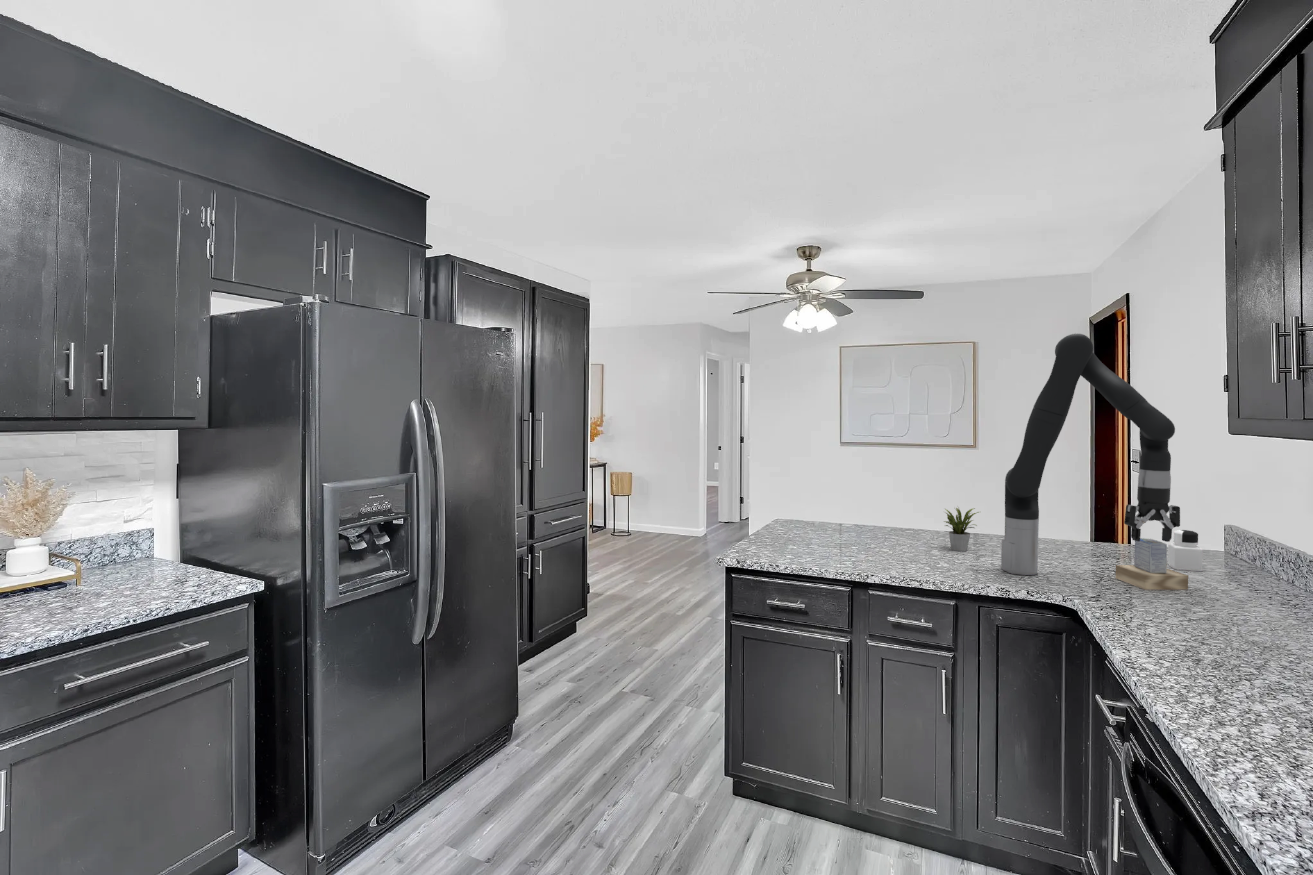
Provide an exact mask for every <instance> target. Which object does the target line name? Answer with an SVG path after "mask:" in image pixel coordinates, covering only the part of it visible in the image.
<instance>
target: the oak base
mask: <svg viewBox="0 0 1313 875" xmlns="http://www.w3.org/2000/svg"><path fill="white" fill-rule="evenodd" d="M1115 579H1116V580H1119V581H1121V582H1124V583H1126V584H1128V585H1132V586H1133V587H1137V588H1140V589H1142V590H1144V591H1145V590H1146V591H1150V590H1151V591H1155V590H1156V591H1157V590H1159V591H1162V590H1164V591H1165V590H1166V591H1167V590H1168V591H1169V590H1171V591H1173V590H1174V591H1175V590H1178V591H1179V590H1180V591H1183V590H1189V575H1188V574H1185V573H1181V572H1178V571H1177V570H1176V571H1175V570H1172V569H1170V568H1167V573H1165V574H1164V573H1150V572H1147V571H1145V570H1142V569H1140V568H1137V567H1135V566H1134V565H1133V564H1127V565H1126V564H1120V565H1119V564H1116V565H1115Z"/></svg>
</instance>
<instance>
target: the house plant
mask: <svg viewBox="0 0 1313 875" xmlns="http://www.w3.org/2000/svg"><path fill="white" fill-rule="evenodd" d="M975 509H976V508H974V507H973V508H970V509H969V510H967V511H966V512H965V514H964V516H962V512H961V510H960V507H959V506H957V507H955V511H956V515H955V516H954V514H953V513H952V512H951V511H950V510H948V509H946V508H944V510H945V511H944V513H945V514H946V516H947V517H946V518H947V520H948V521H946V520H945V521H943V522H944V523H945V525H944V527H948V528H951V530H952V531H951V530H950V531H948V535H949V541H950V542H949V543H950V548H951V550H952V551H954V552H967V551H968V548H969V542H970V537H971V532H968V531H966V530H967V529H975V527H974V526H976V527H978V525H977V524H975V523H973V524H971V526H970V523H971V522H972V521H974V519H973V520H972V518H973V516H974V515H976V514H977V513H980V511H977V512H974V513H973V512H972V511H973V510H975ZM950 525H951V526H952V527H951V526H950Z"/></svg>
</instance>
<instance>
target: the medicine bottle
mask: <svg viewBox="0 0 1313 875" xmlns="http://www.w3.org/2000/svg"><path fill="white" fill-rule="evenodd" d="M1198 545H1199V533H1198V532H1195V531H1193V530H1188V529H1177V530H1174V531H1173V541H1172V542H1168V544H1167V549H1168V550H1167V565H1168V566H1169V567H1171V568H1172V569H1174V570H1176V571H1177V570H1178V571H1189V572H1191V571H1192V572H1203V567H1204V566H1203V561H1204V560H1203V559H1204V549H1203V548H1201V547H1200V546H1198Z"/></svg>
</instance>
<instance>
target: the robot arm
mask: <svg viewBox="0 0 1313 875" xmlns="http://www.w3.org/2000/svg"><path fill="white" fill-rule="evenodd" d="M1054 354H1055V359H1054V362H1053V366H1052V369H1051V371H1050V372H1051V373H1050V375H1049V378H1048V379H1047V381H1046V383H1045V385H1044V386H1043V387H1042V390H1041V391H1040V393H1039V394H1038V397H1037V398H1036V400H1035V403H1034V405H1033V408H1032V410H1031V412H1030V414H1029V418H1028V420H1027V424H1026V428H1025V431H1024V432H1025V433H1024V437H1023V442H1022V447H1021V450H1020V453H1019V455H1018V457H1017V459H1016V461H1015V463H1014V465H1013V466H1012V468H1010V469H1009V470H1008V472H1007V473H1006V475H1005V479H1004V539H1001V548H1000V549H1001V552H1000V553H1001V556H1000V559H1001V560H1000V562H1001V563H1000V565H1001V566H1000V570H1003V571H1005V572H1007V573H1009V574H1011V575H1012V574H1013V575H1022V576H1033V575H1037V574H1038V571H1039V570H1038V567H1039V566H1038V565H1039V531H1040V530H1039V528H1040V525H1039V524H1040V523H1039V521H1040V520H1039V519H1040V508H1039V489H1040V487H1041V482H1042V479H1043V475H1044V471H1045V467H1046V464H1047V460H1048V458H1049V455H1050V454H1051V452H1052V449H1053V448H1054V446H1055V444H1056V442H1057V441H1058V437H1059V436H1060V433H1061V432H1062V429H1063V426H1064V425H1065V422H1066V419H1067V417H1068V415H1069V411H1070V408H1071V405H1072V402H1073V399H1074V395H1075V390H1076V387H1077V384H1078V381H1079V380H1080V377H1082V378H1083V379H1084V380H1086V381H1087V382H1088V383H1090V385H1092V387H1094V389H1095V390H1097V392H1099V393H1100V394H1101V395H1102V397H1104V399H1105V400H1106V401H1108V402H1109V404H1111V406H1112V407H1113V408H1114V409H1116V410H1117V412H1119V413H1120V414H1121V415H1122V416H1123V417H1125V418H1126V419H1127V420H1130V421H1131V422H1132V423H1133V424H1135V426H1137V428H1139V447H1140V457H1139V458H1140V460H1139V472H1138V477H1137V494H1136V495H1137V496H1136V500H1137V502H1138V503H1137V504H1136V505H1132V504H1126V505H1125V506H1126V507H1125V512H1124V523H1123V524H1125V526H1129V527H1130V528H1131V529H1130V537H1131V539H1132V541H1134V542H1135V541H1140V538H1141V534H1142V533H1141V530H1142V529H1141V527H1143V525H1144V524H1146V523H1147V522H1151V521H1152V522H1154V521H1157V522H1158V521H1159V523H1160V524H1161V525H1162V526H1163V527H1162V532H1161V540H1162V541H1163V542H1168V543H1170V541H1171V540H1172V538H1173V537H1172V535H1173V529H1174V528H1179V527H1180V526H1181V508H1180V506H1178V505H1173V504H1171V505H1169V503H1170V502H1171V489H1172V488H1171V484H1172V476H1171V465H1172V464H1171V463H1172V455H1171V453H1170V451H1169V440H1170V439H1171V438H1172V437H1173V436H1174V435H1175V432H1176V428H1175V427H1176V426H1175V424H1174V423H1173V421H1172V420H1171V419H1170V418H1169V417H1168V416H1166V415H1165V414H1164V413H1162V412H1161V411H1160V410H1158V409H1157V407H1155V406H1153V405H1152V404H1151V403H1150V402H1148V400H1147V399H1146V398H1145V397H1144V396H1143V395H1142V394H1141V393H1140V392H1139V391H1138V390H1136V388H1134V386H1132V385H1131V384H1130V383H1129V382H1127V381H1125V379H1123V378H1122V377H1120V376H1118V374H1116V373H1115V372H1114V371H1112V370H1111V369H1109V367H1107V366H1106V365H1105V364H1104V363H1102V361H1101V360H1100V359H1099V358H1098V357H1097V355H1096V354H1095V353H1094V344H1093V342H1092V340H1091V338H1090V337H1089V336H1087V335H1085V334H1083V333H1072V334H1068V335H1066V336H1064V337H1063V338H1061V339H1060V340H1059V341H1058V342H1057V344H1056V346H1055V348H1054ZM1136 513H1137V514H1136ZM1168 513H1169V516H1168V515H1167V514H1168Z"/></svg>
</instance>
